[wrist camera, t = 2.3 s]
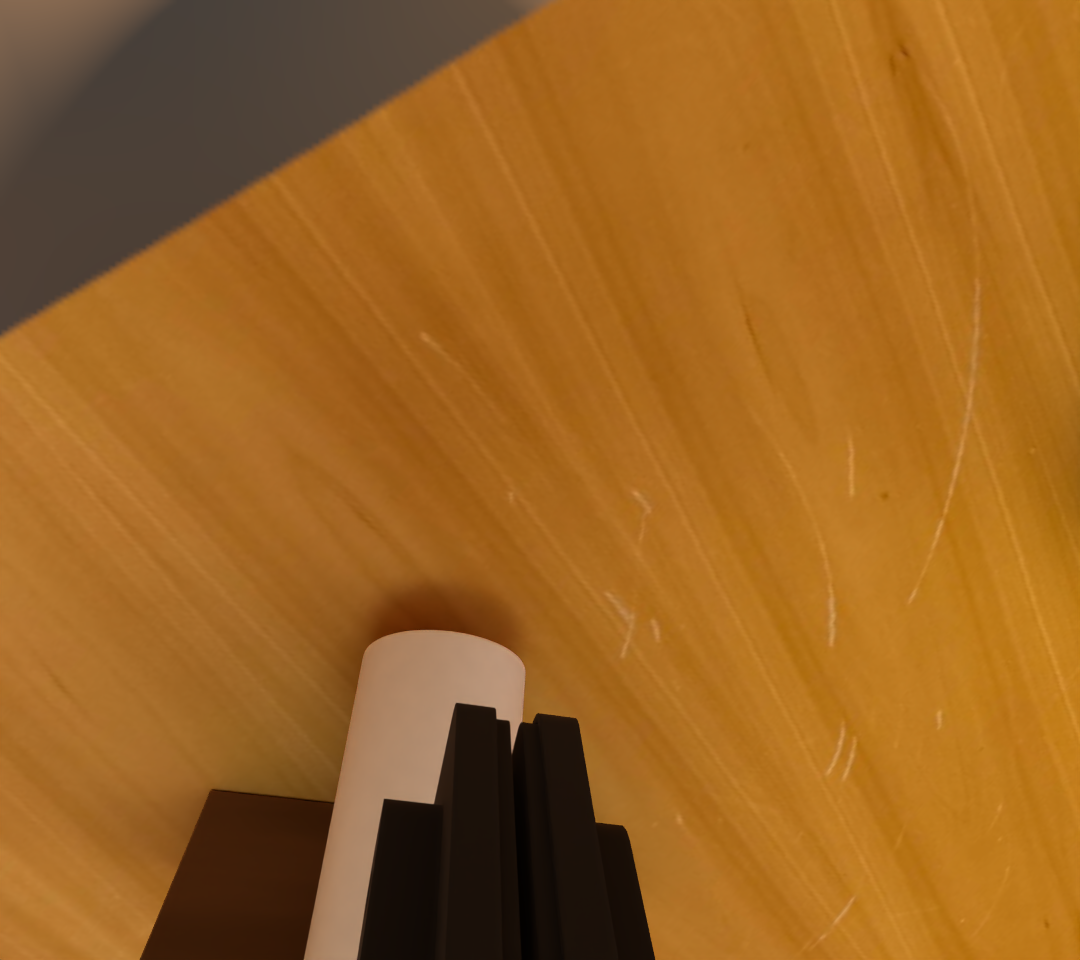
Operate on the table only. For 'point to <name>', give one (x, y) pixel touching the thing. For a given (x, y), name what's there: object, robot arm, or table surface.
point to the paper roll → (400, 756)
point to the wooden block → (244, 881)
